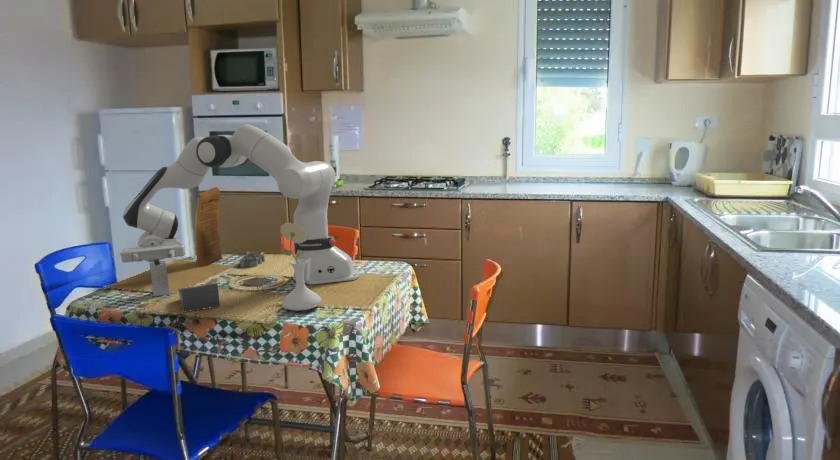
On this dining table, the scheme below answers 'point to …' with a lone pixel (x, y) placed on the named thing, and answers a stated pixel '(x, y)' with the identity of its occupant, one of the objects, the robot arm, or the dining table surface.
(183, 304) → the block
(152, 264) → the block
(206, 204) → the pancake mix bag
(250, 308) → the dining table surface
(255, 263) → the grey building model
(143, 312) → the dining table surface
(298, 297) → the flower in vase
